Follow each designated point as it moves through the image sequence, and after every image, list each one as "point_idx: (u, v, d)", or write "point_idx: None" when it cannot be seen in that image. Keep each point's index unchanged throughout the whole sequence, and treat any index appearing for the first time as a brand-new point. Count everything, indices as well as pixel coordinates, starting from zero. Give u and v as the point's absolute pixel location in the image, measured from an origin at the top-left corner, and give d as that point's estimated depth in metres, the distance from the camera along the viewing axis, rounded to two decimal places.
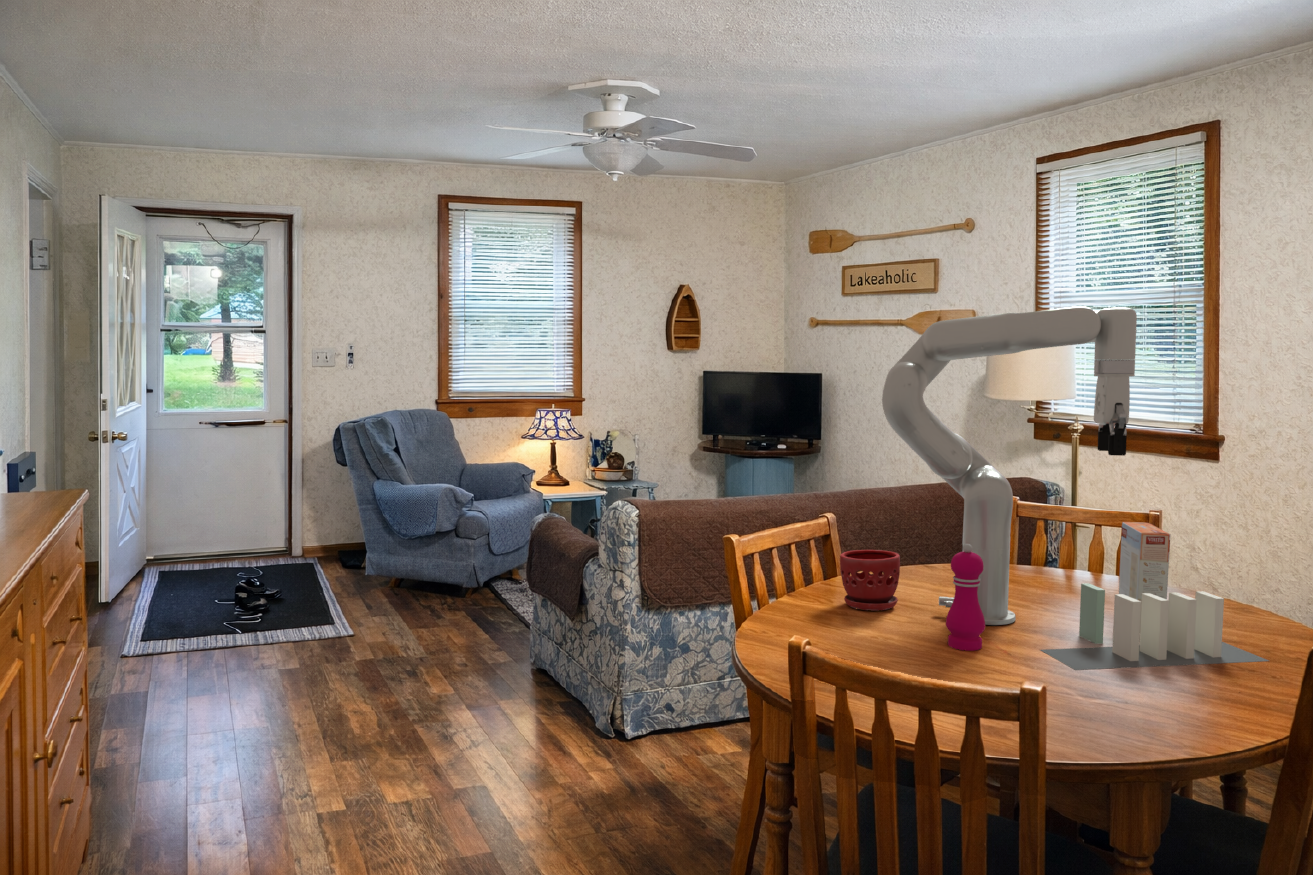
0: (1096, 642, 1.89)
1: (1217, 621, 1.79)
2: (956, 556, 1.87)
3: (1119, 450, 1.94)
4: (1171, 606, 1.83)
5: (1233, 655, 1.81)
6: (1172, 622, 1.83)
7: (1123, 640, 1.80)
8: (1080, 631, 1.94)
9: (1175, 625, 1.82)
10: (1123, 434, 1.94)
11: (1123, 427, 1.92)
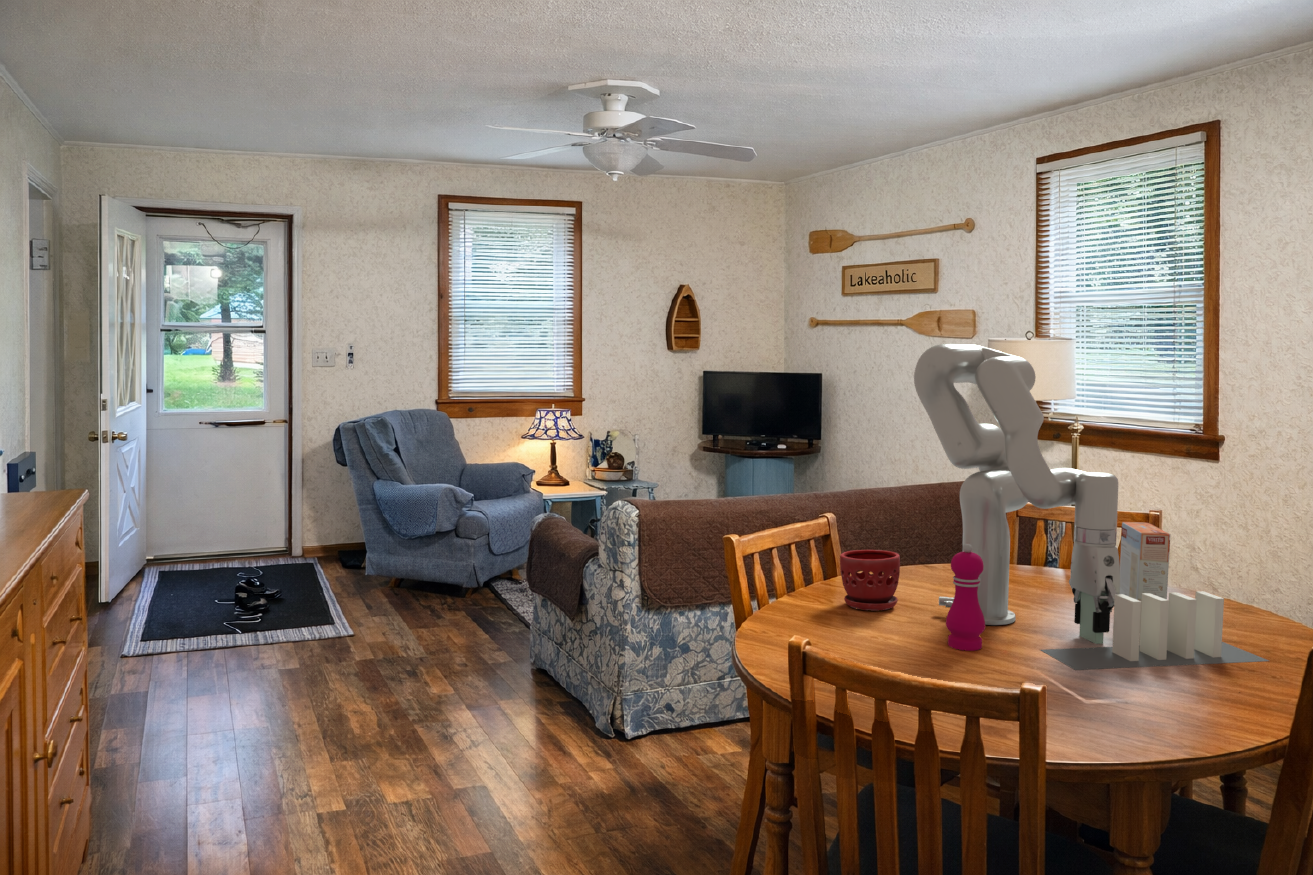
0: (1096, 642, 1.89)
1: (1217, 621, 1.79)
2: (956, 556, 1.87)
3: None
4: (1171, 606, 1.83)
5: (1233, 655, 1.81)
6: (1172, 622, 1.83)
7: (1123, 640, 1.80)
8: (1080, 631, 1.94)
9: (1175, 625, 1.82)
10: None
11: None
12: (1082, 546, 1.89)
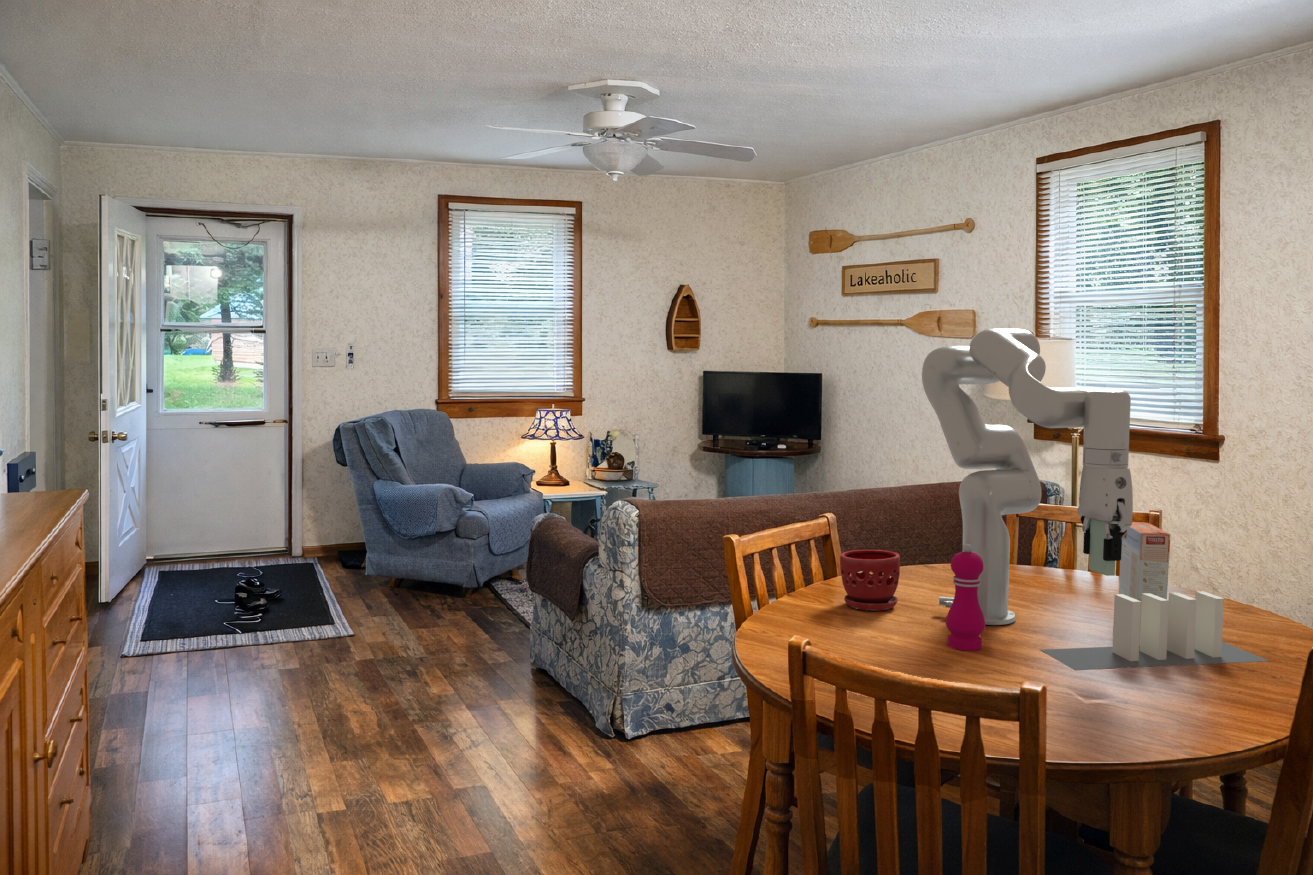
0: (1107, 571, 1.76)
1: (1217, 621, 1.79)
2: (956, 556, 1.87)
3: None
4: (1171, 606, 1.83)
5: (1233, 655, 1.81)
6: (1172, 622, 1.83)
7: (1123, 640, 1.80)
8: (1089, 562, 1.81)
9: (1175, 625, 1.82)
10: None
11: None
12: (1092, 469, 1.77)
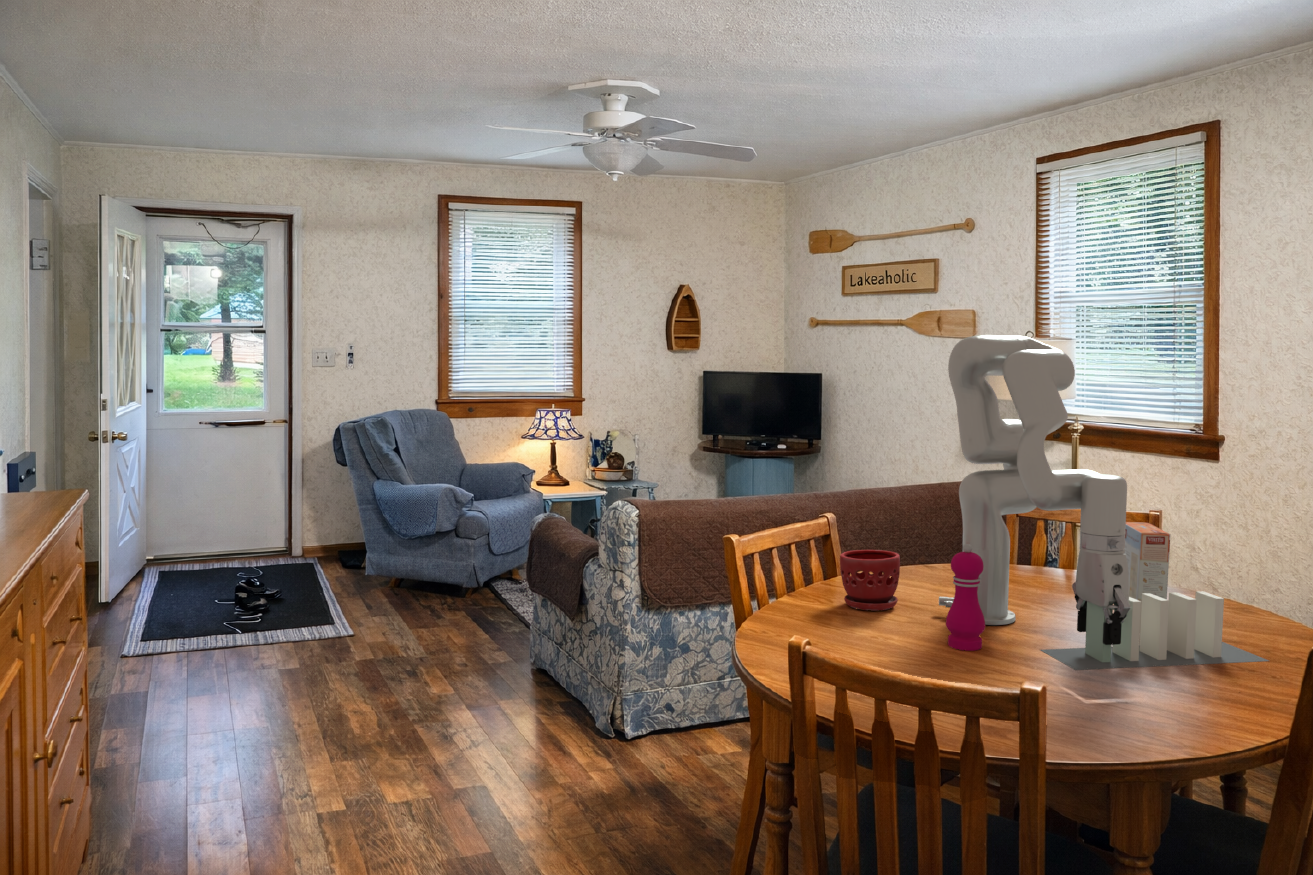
0: (1103, 658, 1.77)
1: (1217, 621, 1.79)
2: (956, 556, 1.87)
3: None
4: (1171, 606, 1.83)
5: (1233, 655, 1.81)
6: (1172, 622, 1.83)
7: (1123, 640, 1.80)
8: (1086, 646, 1.82)
9: (1175, 625, 1.82)
10: None
11: None
12: (1088, 553, 1.78)
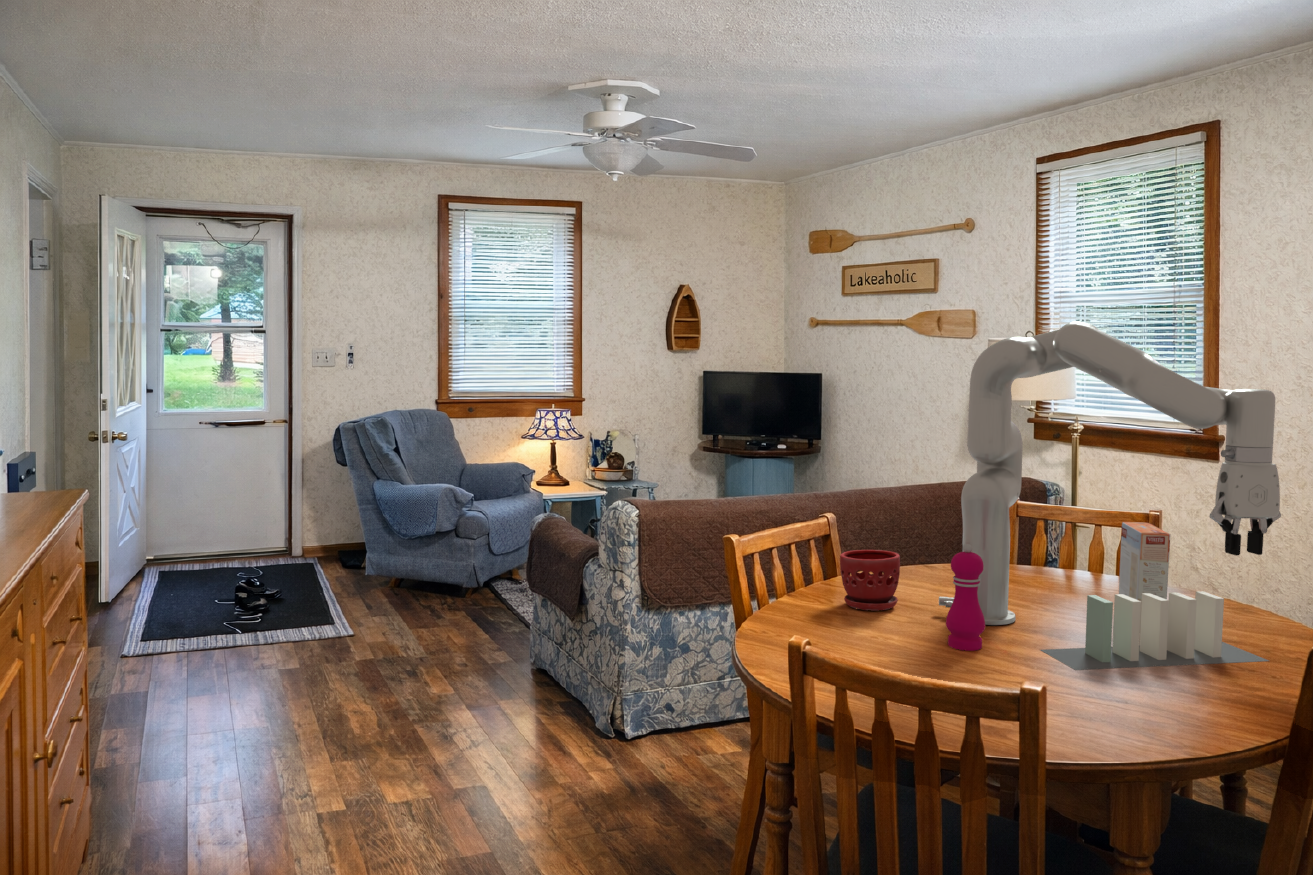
0: (1103, 658, 1.77)
1: (1217, 621, 1.79)
2: (956, 556, 1.87)
3: None
4: (1171, 606, 1.83)
5: (1233, 655, 1.81)
6: (1172, 622, 1.83)
7: (1123, 640, 1.80)
8: (1086, 646, 1.82)
9: (1175, 625, 1.82)
10: None
11: None
12: None
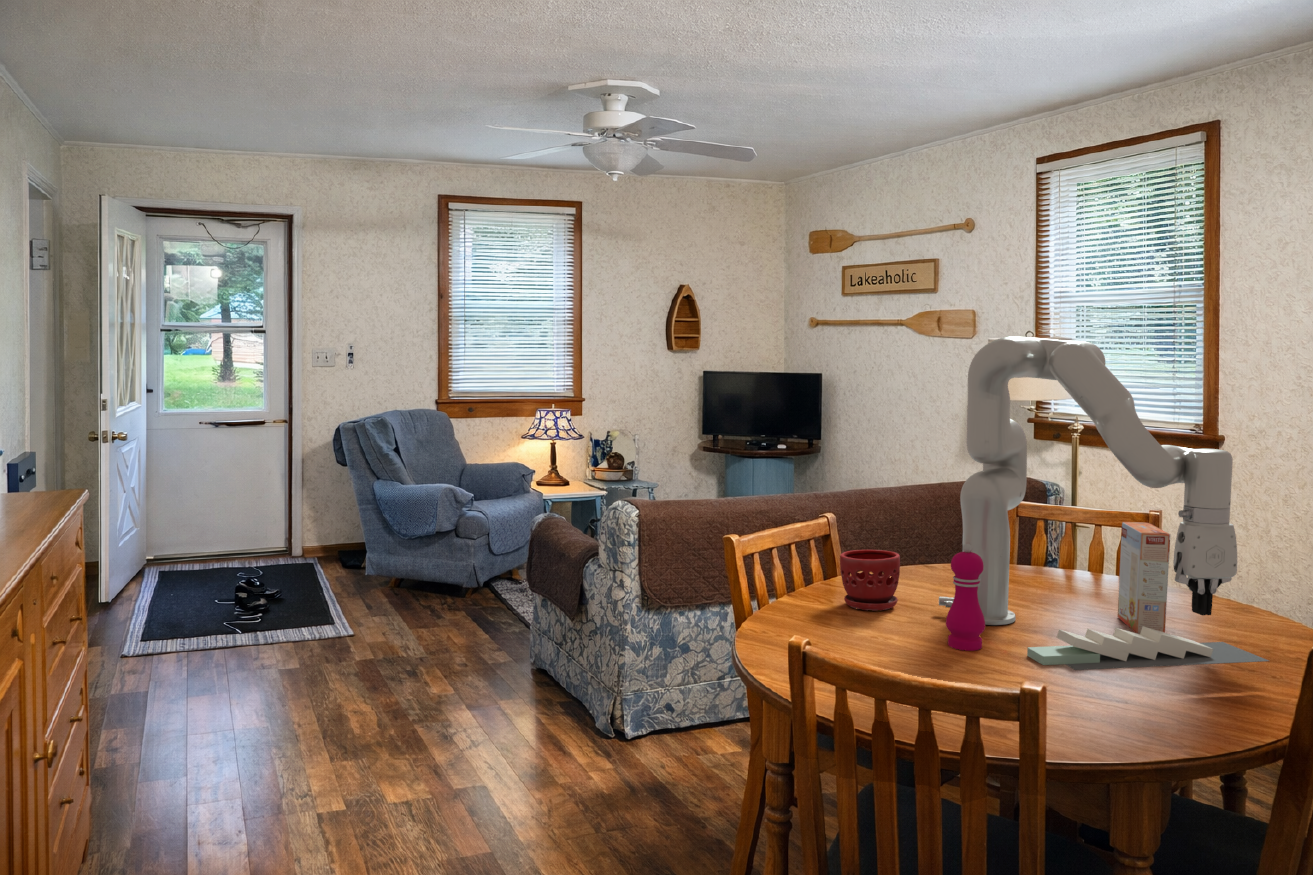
0: (1096, 661, 1.77)
1: (1180, 645, 1.79)
2: (956, 556, 1.87)
3: None
4: None
5: (1233, 655, 1.81)
6: None
7: None
8: None
9: None
10: None
11: None
12: None
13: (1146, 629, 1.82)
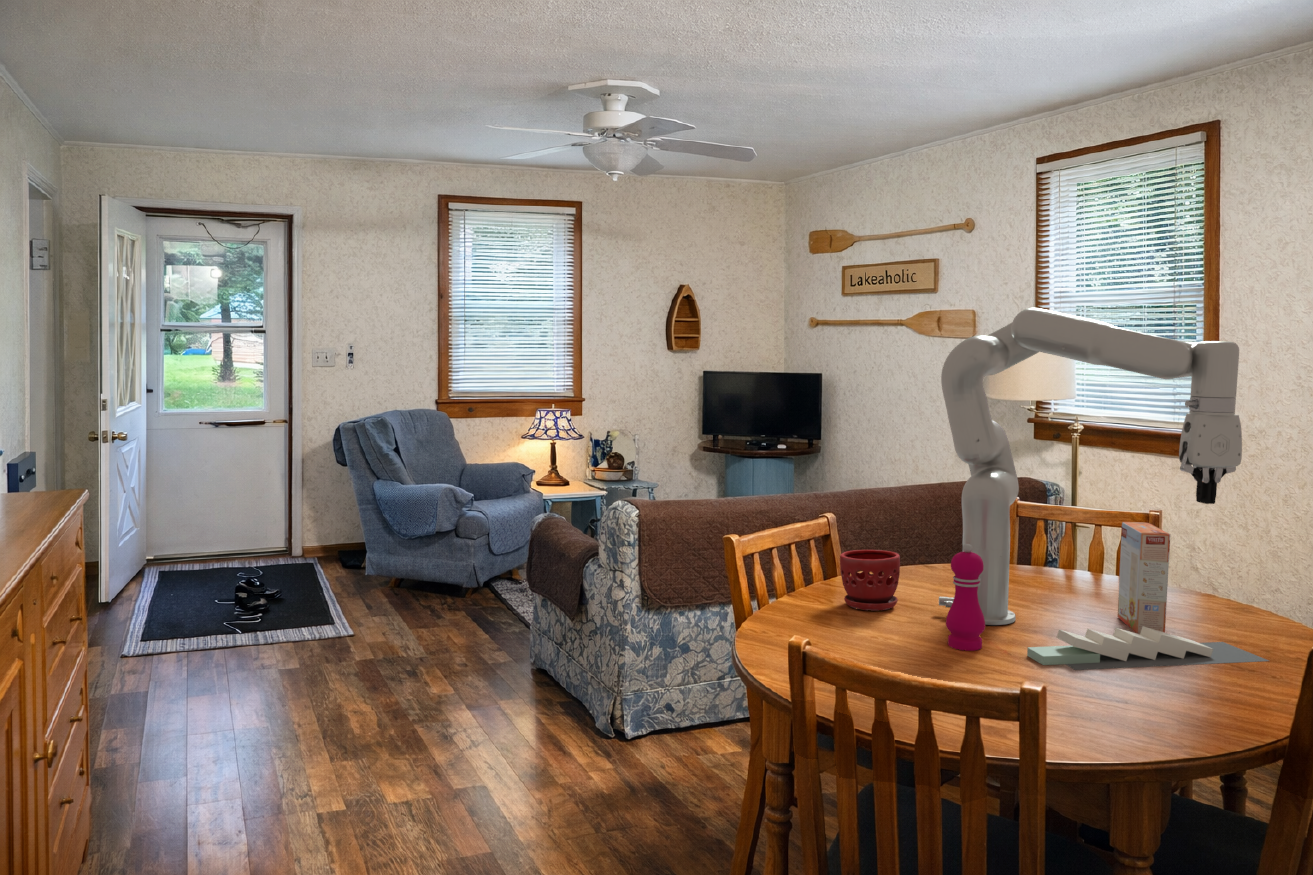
0: (1096, 661, 1.77)
1: (1180, 645, 1.79)
2: (956, 556, 1.87)
3: None
4: None
5: (1233, 655, 1.81)
6: None
7: None
8: None
9: None
10: None
11: None
12: None
13: (1146, 629, 1.82)
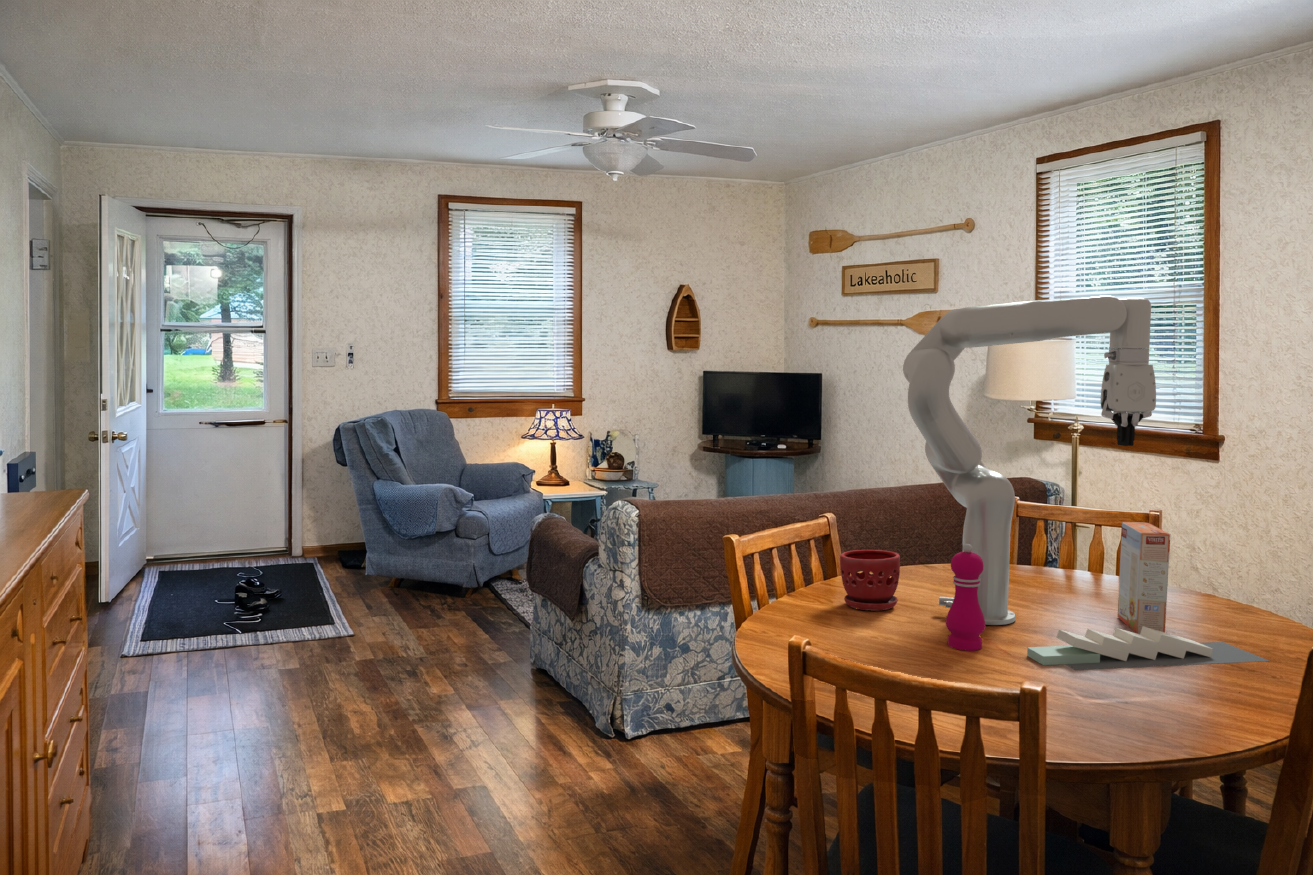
0: (1096, 661, 1.77)
1: (1180, 645, 1.79)
2: (956, 556, 1.87)
3: None
4: None
5: (1233, 655, 1.81)
6: None
7: None
8: None
9: None
10: None
11: None
12: None
13: (1146, 629, 1.82)
